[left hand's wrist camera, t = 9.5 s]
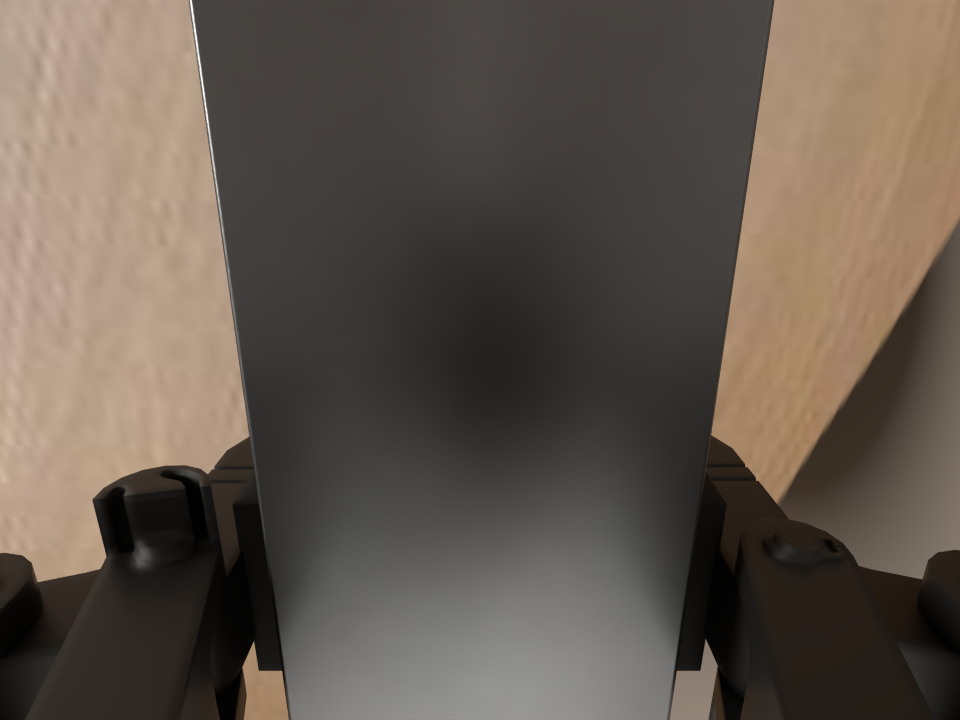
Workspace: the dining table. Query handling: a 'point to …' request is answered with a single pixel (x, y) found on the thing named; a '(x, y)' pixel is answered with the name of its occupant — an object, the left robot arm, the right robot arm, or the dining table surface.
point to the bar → (480, 334)
